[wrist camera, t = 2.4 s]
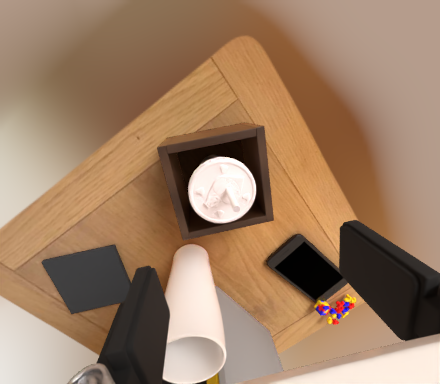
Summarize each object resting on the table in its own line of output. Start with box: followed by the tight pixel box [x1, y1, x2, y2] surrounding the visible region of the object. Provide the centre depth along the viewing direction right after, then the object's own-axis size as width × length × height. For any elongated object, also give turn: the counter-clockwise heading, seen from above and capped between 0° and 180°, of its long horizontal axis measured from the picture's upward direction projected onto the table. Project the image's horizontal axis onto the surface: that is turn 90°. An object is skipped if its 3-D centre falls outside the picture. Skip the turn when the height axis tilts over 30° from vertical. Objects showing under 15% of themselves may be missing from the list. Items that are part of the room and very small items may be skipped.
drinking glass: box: [163, 244, 226, 384], centre depth 26 cm, size 7×7×15 cm
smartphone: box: [267, 234, 348, 303], centre depth 36 cm, size 7×15×1 cm, turn 47°
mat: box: [42, 245, 131, 314], centre depth 32 cm, size 10×10×1 cm
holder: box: [157, 123, 274, 240], centre depth 25 cm, size 10×10×8 cm
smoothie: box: [188, 154, 256, 223], centre depth 22 cm, size 6×6×14 cm
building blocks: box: [314, 295, 356, 324], centre depth 40 cm, size 6×8×2 cm
